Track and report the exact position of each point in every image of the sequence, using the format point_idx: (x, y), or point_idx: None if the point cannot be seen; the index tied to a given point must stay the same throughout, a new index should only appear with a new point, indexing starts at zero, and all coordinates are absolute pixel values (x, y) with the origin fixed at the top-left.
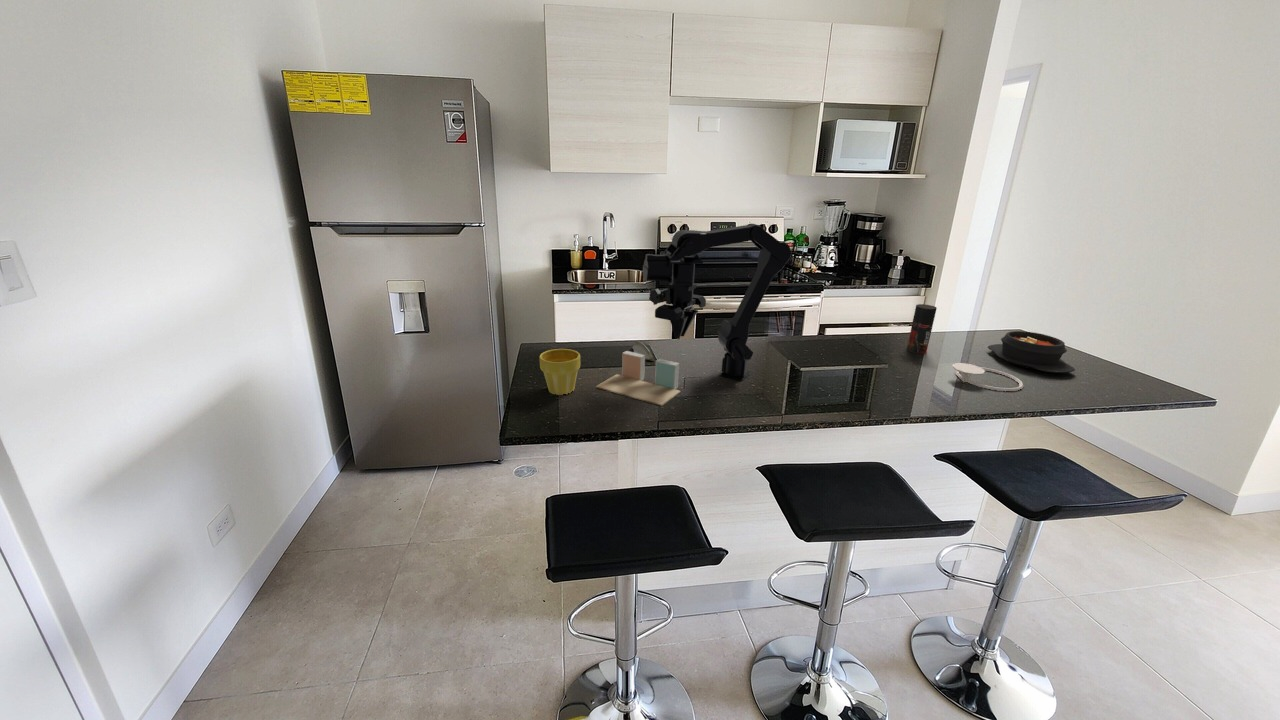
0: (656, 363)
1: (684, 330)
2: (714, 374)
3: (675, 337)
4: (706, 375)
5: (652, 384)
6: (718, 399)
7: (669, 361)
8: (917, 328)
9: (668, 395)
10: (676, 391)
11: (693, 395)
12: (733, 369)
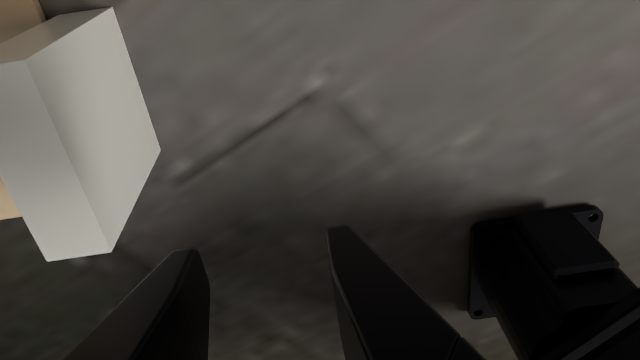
0: None
1: (345, 356)
2: (479, 187)
3: (169, 260)
4: (438, 165)
5: (23, 17)
6: (209, 341)
7: (63, 177)
8: None
9: (8, 193)
10: None
11: (149, 258)
12: (494, 312)
